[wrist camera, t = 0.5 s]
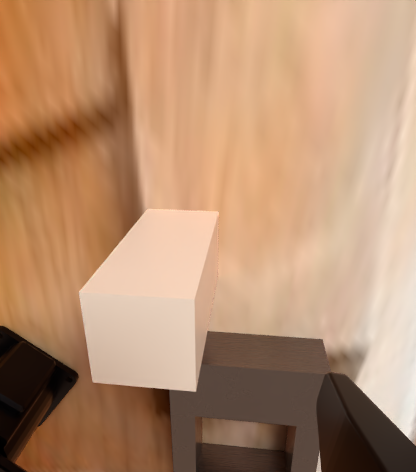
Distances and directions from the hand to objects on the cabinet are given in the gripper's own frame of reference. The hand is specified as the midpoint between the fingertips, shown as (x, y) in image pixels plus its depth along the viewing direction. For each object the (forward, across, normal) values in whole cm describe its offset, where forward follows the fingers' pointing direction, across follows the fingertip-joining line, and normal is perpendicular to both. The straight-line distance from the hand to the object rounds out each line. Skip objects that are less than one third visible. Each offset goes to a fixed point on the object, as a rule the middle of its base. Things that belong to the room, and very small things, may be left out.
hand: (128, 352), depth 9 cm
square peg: (+13, 0, +3) cm, 13 cm away
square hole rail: (+13, -5, +15) cm, 21 cm away
